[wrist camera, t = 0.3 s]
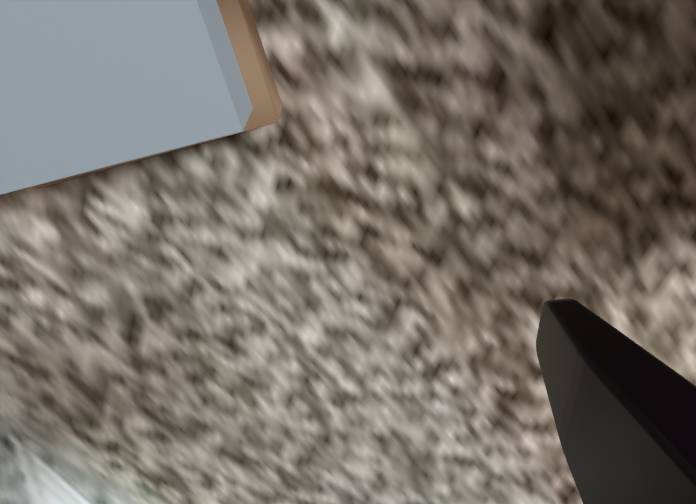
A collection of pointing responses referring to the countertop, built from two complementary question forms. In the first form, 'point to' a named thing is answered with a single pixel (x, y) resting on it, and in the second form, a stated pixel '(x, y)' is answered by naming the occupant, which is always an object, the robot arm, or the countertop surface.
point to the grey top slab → (111, 84)
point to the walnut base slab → (252, 70)
